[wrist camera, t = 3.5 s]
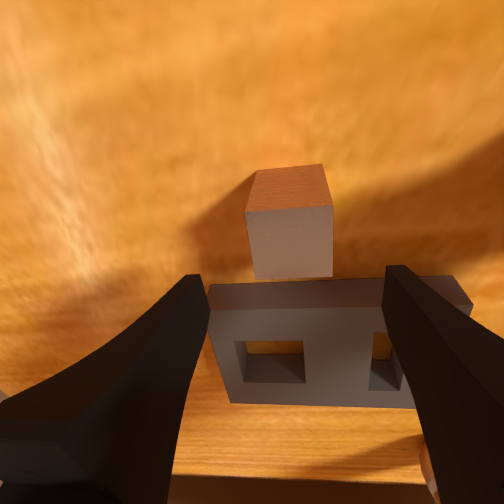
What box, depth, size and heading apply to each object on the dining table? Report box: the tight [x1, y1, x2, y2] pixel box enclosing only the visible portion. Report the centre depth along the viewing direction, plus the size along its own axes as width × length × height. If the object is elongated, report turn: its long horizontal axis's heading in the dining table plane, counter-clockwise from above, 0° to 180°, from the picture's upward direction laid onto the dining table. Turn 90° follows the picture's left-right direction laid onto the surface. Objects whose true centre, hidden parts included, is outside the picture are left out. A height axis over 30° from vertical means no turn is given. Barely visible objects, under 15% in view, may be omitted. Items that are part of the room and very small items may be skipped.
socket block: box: [207, 275, 474, 409], centre depth 25 cm, size 18×12×3 cm, turn 98°
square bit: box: [244, 164, 333, 280], centre depth 17 cm, size 4×4×6 cm
